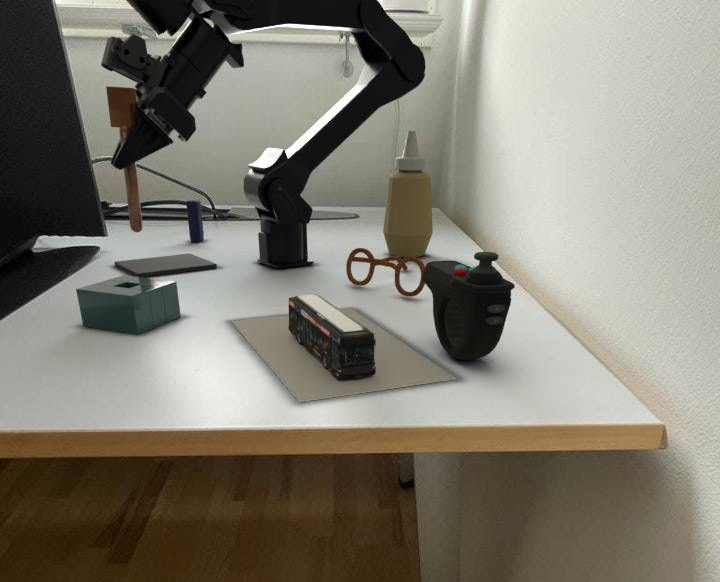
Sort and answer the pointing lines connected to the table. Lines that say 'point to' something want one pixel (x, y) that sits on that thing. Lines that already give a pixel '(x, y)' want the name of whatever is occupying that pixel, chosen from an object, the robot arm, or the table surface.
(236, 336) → the table surface
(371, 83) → the robot arm
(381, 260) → the glasses
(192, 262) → the mat
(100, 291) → the holder
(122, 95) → the brown rod with block
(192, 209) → the eraser
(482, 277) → the controller
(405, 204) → the squeeze bottle
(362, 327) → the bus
